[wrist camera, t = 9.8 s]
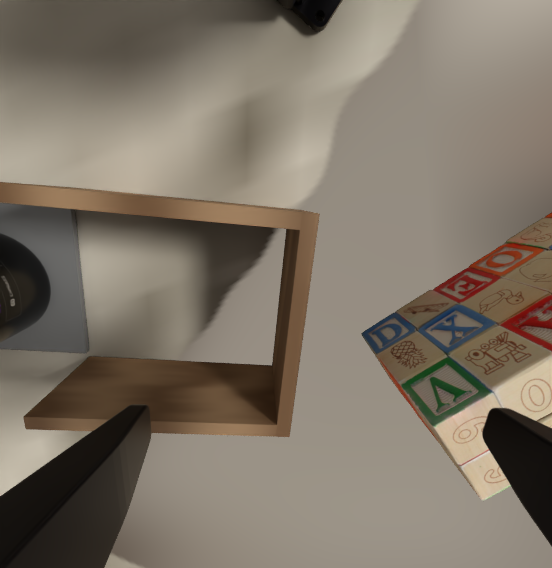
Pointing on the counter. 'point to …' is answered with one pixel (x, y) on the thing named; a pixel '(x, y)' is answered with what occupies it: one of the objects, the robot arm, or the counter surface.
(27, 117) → the counter surface
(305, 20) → the robot arm
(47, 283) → the supplement bottle
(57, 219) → the mat
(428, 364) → the stack of blocks
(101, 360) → the open box
